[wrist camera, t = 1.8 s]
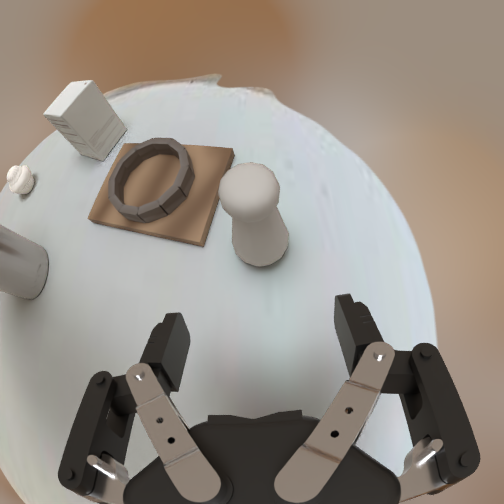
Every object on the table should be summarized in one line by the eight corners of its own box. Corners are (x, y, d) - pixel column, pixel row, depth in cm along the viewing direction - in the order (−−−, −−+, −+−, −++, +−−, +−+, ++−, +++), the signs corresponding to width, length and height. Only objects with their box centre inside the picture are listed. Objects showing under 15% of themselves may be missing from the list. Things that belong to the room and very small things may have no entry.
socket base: (93, 222, 34) (77, 211, 30) (128, 148, 37) (116, 133, 34) (203, 246, 31) (192, 233, 27) (234, 155, 34) (228, 135, 30)
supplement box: (104, 124, 41) (71, 80, 29) (128, 129, 39) (93, 78, 27) (80, 155, 39) (41, 114, 27) (102, 163, 38) (59, 115, 26)
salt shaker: (270, 281, 29) (260, 238, 16) (226, 255, 30) (187, 199, 18) (298, 236, 30) (305, 168, 17) (254, 213, 31) (235, 139, 19)
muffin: (21, 205, 39) (-1, 191, 32) (21, 186, 41) (1, 171, 34) (39, 187, 39) (16, 170, 32) (38, 168, 41) (19, 151, 34)
